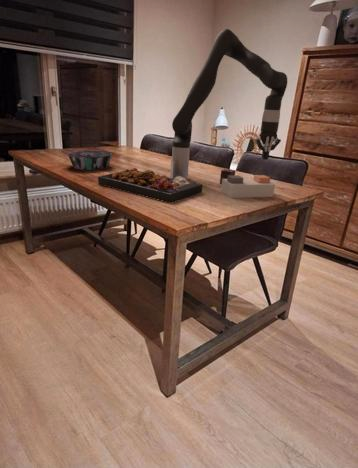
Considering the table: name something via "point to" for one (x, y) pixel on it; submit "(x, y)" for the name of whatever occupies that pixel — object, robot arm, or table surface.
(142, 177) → the food platter
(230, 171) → the box
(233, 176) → the charcoal key
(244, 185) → the key panel
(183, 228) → the table surface
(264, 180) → the terracotta key
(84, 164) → the decorative bowl
